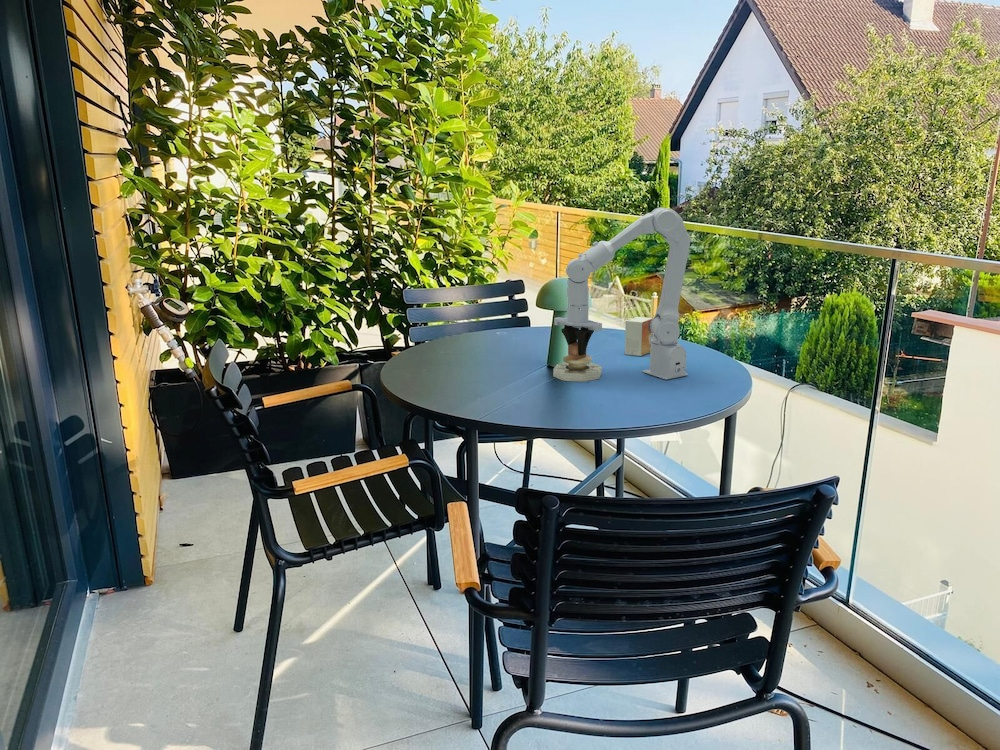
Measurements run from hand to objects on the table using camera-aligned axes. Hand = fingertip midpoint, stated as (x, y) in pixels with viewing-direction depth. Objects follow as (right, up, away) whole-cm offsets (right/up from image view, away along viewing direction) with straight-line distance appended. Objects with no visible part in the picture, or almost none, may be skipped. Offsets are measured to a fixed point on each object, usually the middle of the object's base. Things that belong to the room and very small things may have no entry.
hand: (577, 353), depth 191 cm
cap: (0, -4, +1) cm, 4 cm away
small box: (+21, +1, +24) cm, 32 cm away
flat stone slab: (0, -6, +2) cm, 6 cm away
